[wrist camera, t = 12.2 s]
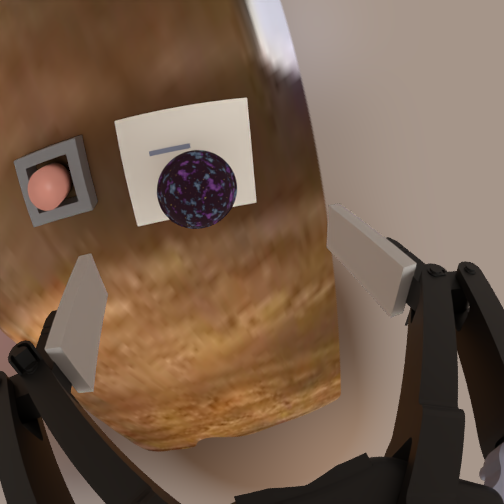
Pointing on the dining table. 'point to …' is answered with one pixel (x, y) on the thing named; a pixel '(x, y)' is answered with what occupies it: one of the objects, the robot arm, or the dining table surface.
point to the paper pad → (184, 148)
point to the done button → (49, 186)
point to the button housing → (78, 172)
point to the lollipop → (196, 189)
